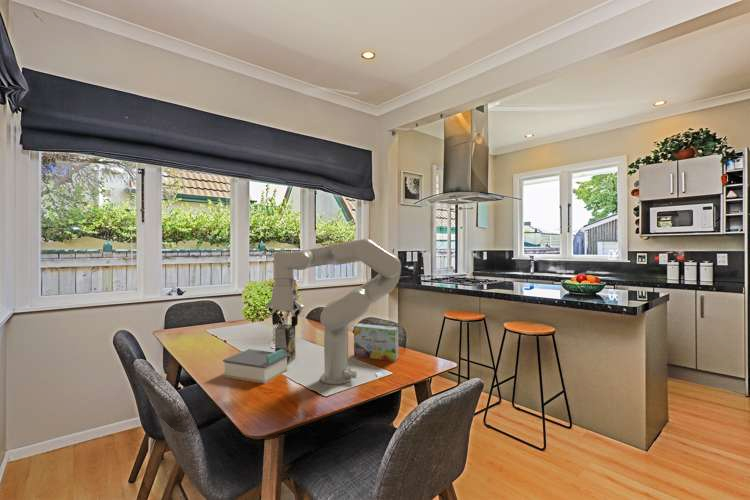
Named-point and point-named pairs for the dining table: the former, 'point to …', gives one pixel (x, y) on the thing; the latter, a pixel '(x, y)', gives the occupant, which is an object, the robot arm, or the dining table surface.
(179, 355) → the dining table surface
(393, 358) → the snack box
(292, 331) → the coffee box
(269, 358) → the lid
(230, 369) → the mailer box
